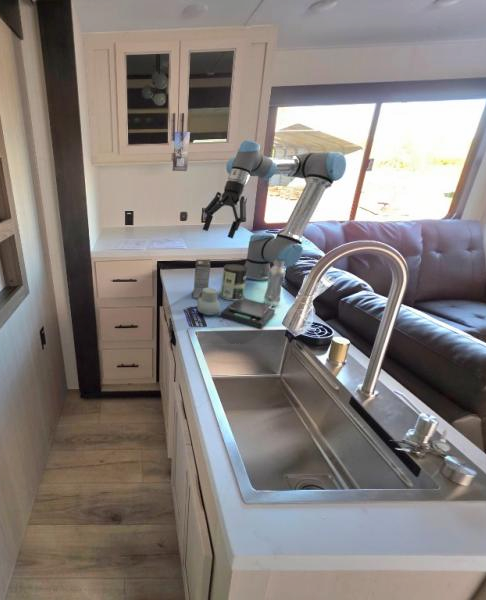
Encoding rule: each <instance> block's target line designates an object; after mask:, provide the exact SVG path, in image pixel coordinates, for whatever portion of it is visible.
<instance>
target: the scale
mask: <svg viewBox="0 0 486 600" xmlns="http://www.w3.org/2000/svg"><path fill="white" fill-rule="evenodd" d="M236 301H237V300H236ZM236 301H233V302H232V303H230V304H229V305H228V306H227V307H226V308H225V309H224V310H222V311H221V313H220V318H224V319H227V320H230V321H233V322H236V323H240V324H243V325H246V326H250V327H254V328H257V329H259V330H260V329H262V328H263V327H265V325H266V324H267V323H268V321H269V320H270V319H272V317H273V316H274V315H275V311H276V309H273V308H271V309H270V310H269V311H268V312H267V313H266V314H265V315H264V316H263V317H262V318H261V319H259V318H256V317H252V316H249V315H245V314H242V313H238V312H235V311H231V310H228V307H230V306H231V305H232V304H233V303H235V302H236Z"/></svg>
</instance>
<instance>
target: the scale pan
mask: <svg viewBox="0 0 486 600" xmlns="http://www.w3.org/2000/svg"><path fill="white" fill-rule="evenodd" d="M234 302H235V301H234ZM232 303H233V302H232ZM232 303H231V304H232ZM231 304H230V305H231ZM230 305H229V306H230ZM229 306H227V307H228V310H231V311H235V312H238V313H242V314H245V315H249V316H252V317H256V318H259V319H261V318H262V317H263V316H264V315H265V314H266V313H267V312H268V311H269V310H270V309H272V307H273V306H272V305H268V304H265V302H260V301H256V300H252V299H248V298H244V297H243V298H239V299H238V300H237V301H236V302H235V303H233V304H232V305H231V306H230V307H229Z"/></svg>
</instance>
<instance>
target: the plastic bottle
mask: <svg viewBox="0 0 486 600" xmlns="http://www.w3.org/2000/svg"><path fill="white" fill-rule="evenodd" d="M283 265H284V260H281V259H275V261H274V263H273V265H272V266H270V270H269V273H268V280H267V287H266V290H265V293H264V296H263V303H264V304H268V305H272V307H275V306H278V305H280V303H281V292H282V285H283V282H284V279H285V276H286V270H285V267H284V266H283Z"/></svg>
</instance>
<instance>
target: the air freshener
mask: <svg viewBox="0 0 486 600" xmlns="http://www.w3.org/2000/svg"><path fill="white" fill-rule="evenodd" d="M217 298H218V290H217V289H216V288H214V287H208V288H204V289H203V290H202V297H201V298H199V299H198V298H197V306H196V307H197V312H198V313H199V314H202V315H204V316H214V315H217V314H219V313H220V310H221V309H220V308H221V306H220V300H219V299H217Z"/></svg>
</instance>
